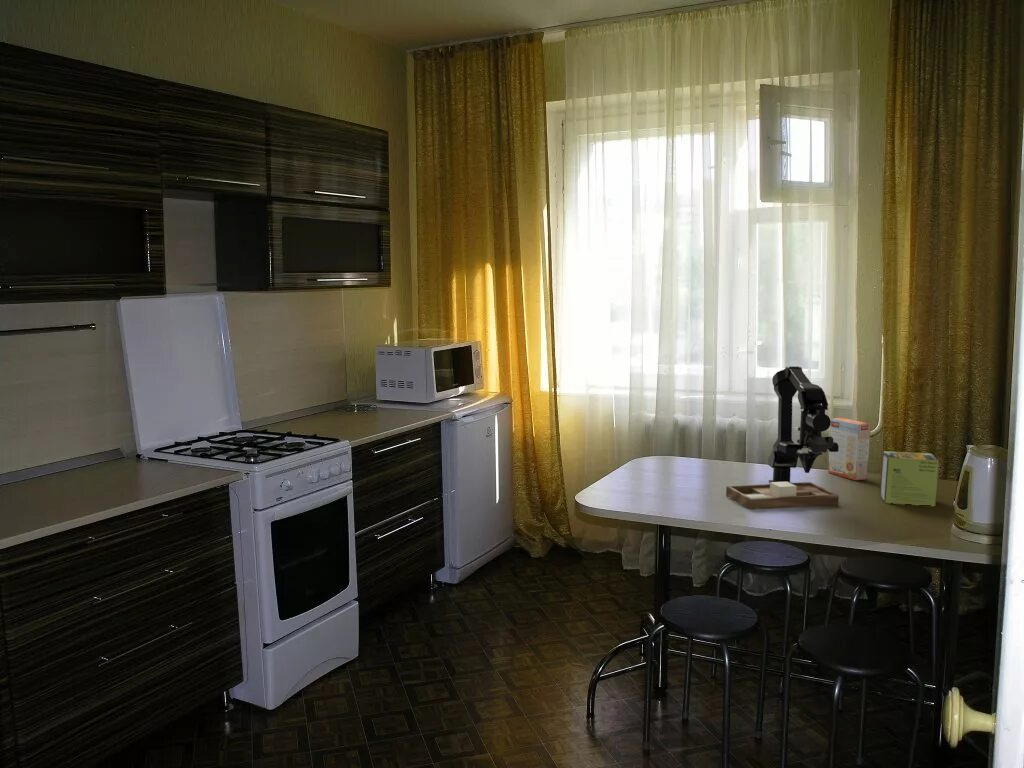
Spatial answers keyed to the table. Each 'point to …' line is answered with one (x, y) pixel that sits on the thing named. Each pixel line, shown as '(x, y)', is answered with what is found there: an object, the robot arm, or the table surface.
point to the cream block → (782, 489)
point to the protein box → (909, 478)
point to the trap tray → (763, 500)
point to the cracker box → (850, 448)
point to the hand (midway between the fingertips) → (806, 472)
